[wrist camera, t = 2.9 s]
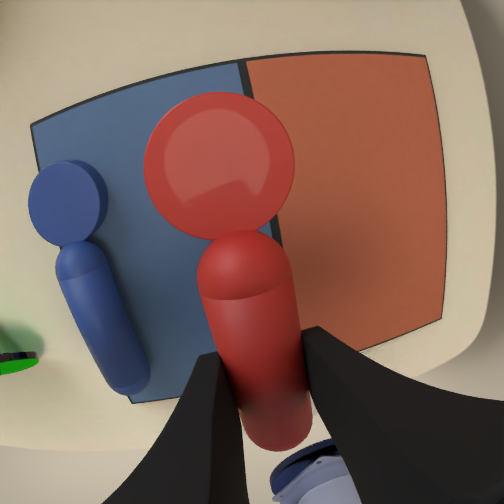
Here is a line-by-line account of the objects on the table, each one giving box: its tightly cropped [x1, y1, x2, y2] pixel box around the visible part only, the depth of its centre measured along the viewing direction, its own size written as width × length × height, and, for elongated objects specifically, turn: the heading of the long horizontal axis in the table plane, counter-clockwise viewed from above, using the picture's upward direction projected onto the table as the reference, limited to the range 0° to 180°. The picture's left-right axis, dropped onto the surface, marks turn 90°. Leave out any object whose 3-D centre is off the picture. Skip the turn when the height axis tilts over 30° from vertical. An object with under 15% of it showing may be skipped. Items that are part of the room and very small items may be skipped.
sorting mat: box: [30, 51, 447, 404], centre depth 14 cm, size 16×20×1 cm
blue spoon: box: [28, 160, 151, 396], centre depth 12 cm, size 11×4×2 cm, turn 11°
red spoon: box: [143, 92, 313, 452], centre depth 8 cm, size 11×4×2 cm, turn 11°
